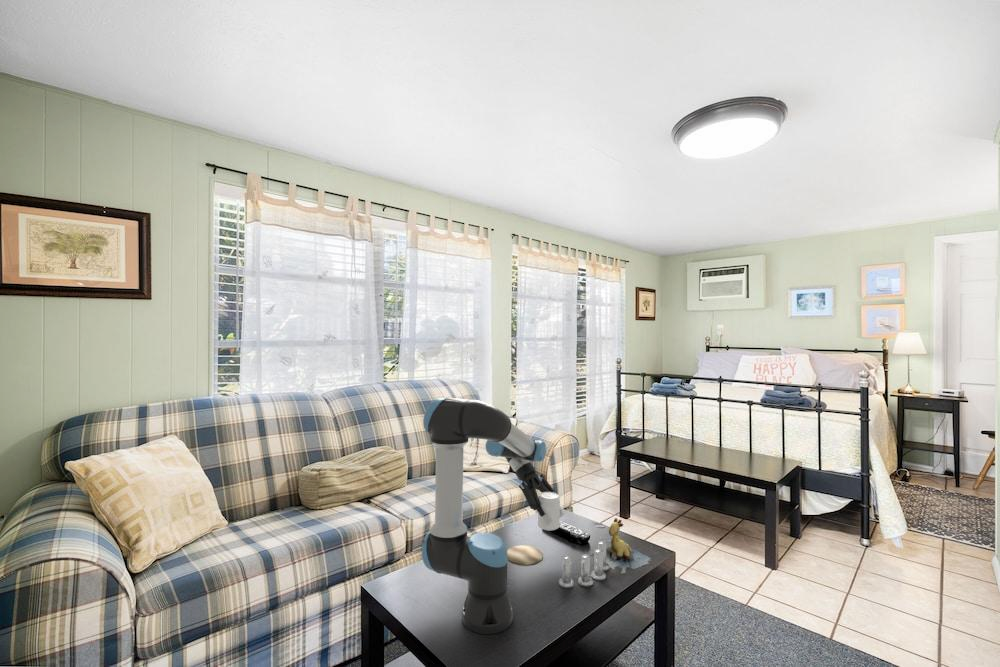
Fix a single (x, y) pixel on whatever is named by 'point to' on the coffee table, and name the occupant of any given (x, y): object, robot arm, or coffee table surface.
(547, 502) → the beverage can
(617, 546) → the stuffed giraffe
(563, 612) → the coffee table surface
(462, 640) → the coffee table surface
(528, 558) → the cork coaster
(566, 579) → the posts
